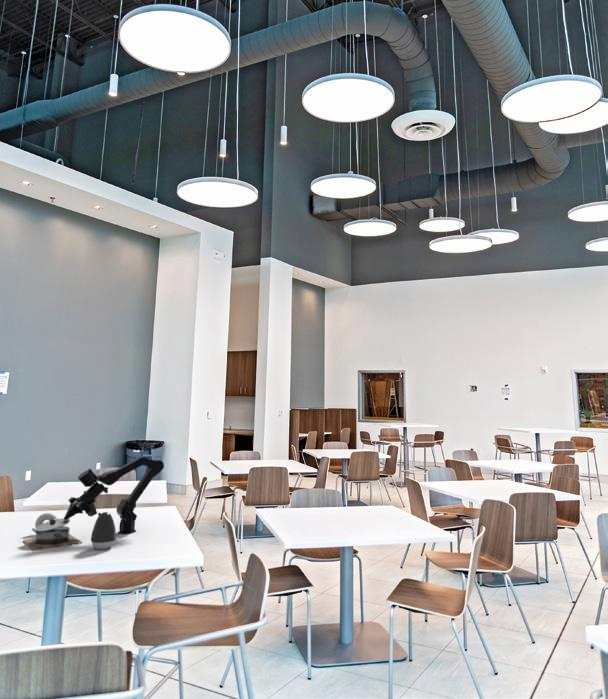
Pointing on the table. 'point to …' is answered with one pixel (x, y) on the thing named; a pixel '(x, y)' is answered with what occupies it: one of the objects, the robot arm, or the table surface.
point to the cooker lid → (51, 525)
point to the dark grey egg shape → (103, 531)
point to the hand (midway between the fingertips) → (64, 519)
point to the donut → (44, 518)
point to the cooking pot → (53, 536)
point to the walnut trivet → (35, 546)
